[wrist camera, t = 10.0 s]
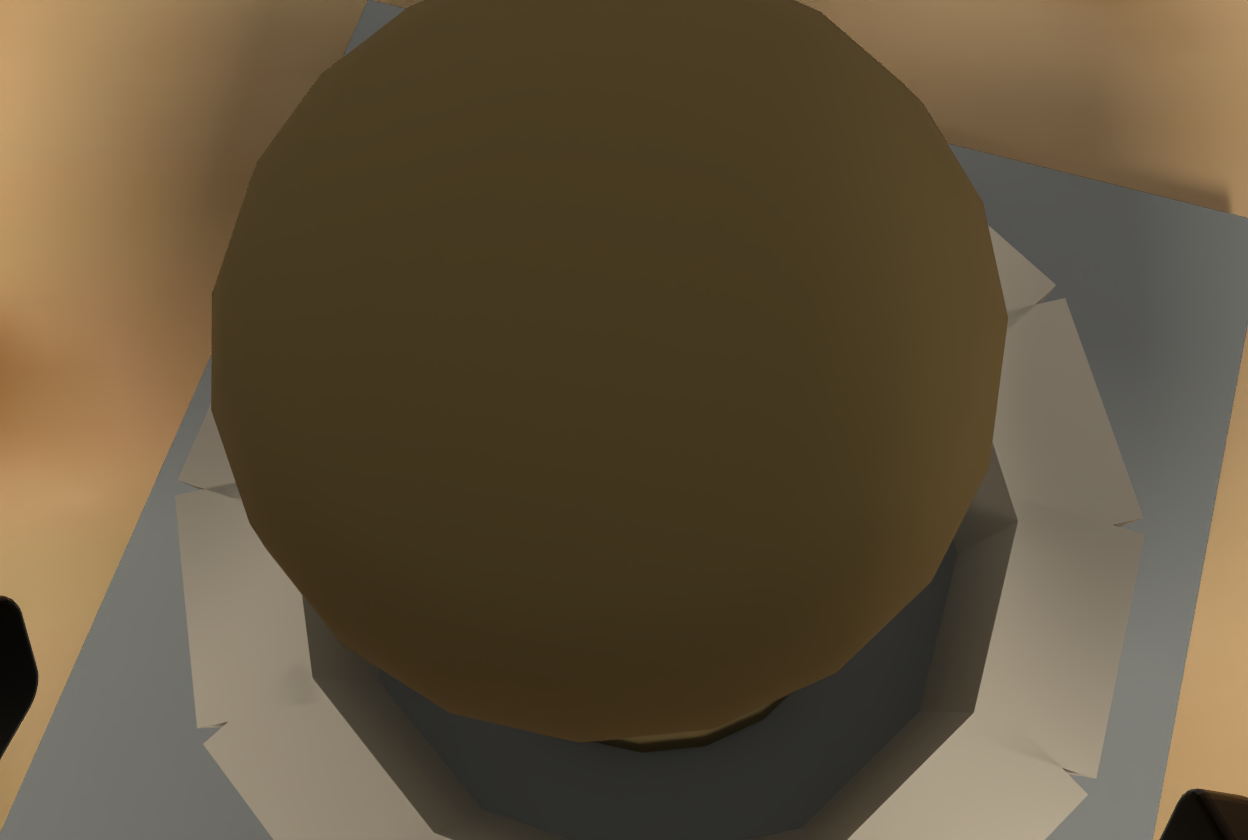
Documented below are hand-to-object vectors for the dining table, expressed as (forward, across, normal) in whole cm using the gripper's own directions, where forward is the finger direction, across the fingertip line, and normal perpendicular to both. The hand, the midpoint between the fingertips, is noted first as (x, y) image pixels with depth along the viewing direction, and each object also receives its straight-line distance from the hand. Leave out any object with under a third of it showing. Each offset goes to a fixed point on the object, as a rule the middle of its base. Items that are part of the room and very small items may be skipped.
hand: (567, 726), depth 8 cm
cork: (+8, 0, +4) cm, 8 cm away
